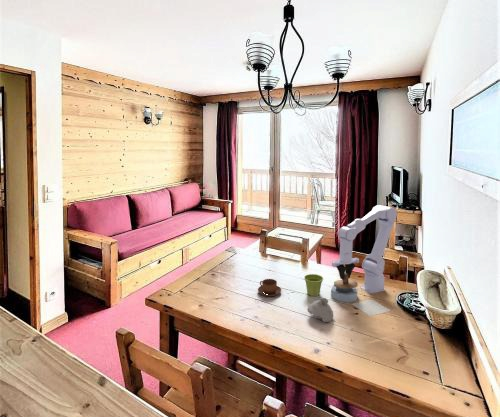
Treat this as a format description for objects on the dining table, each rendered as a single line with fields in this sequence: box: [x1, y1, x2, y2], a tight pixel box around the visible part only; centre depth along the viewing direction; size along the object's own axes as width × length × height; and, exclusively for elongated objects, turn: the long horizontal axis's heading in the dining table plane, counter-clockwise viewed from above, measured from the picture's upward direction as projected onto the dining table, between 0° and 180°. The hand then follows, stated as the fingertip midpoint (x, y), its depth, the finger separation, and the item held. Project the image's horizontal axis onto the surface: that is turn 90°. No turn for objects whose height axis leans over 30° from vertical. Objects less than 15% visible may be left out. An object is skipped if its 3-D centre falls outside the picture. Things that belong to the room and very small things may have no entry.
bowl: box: [330, 284, 358, 303], centre depth 157 cm, size 12×12×4 cm
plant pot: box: [303, 273, 324, 297], centre depth 161 cm, size 9×9×9 cm
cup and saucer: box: [257, 278, 282, 297], centre depth 163 cm, size 12×12×6 cm
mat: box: [351, 299, 392, 317], centre depth 146 cm, size 12×12×1 cm
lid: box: [333, 272, 359, 289], centre depth 156 cm, size 11×11×6 cm
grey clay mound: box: [306, 297, 334, 323], centre depth 138 cm, size 12×12×11 cm
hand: (344, 278), depth 156 cm, fingers closed on lid, 3 cm apart
